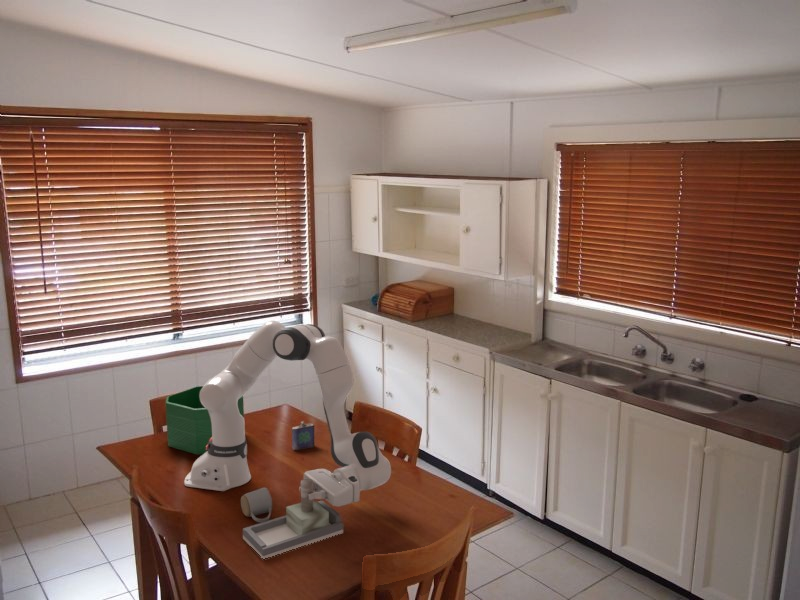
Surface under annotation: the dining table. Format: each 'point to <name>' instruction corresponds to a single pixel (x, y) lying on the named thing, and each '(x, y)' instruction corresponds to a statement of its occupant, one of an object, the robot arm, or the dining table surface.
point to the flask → (303, 436)
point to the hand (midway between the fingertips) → (304, 493)
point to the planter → (190, 421)
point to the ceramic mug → (257, 504)
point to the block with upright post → (306, 512)
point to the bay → (288, 534)
